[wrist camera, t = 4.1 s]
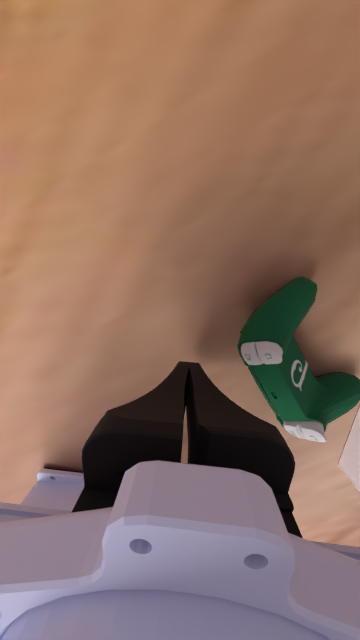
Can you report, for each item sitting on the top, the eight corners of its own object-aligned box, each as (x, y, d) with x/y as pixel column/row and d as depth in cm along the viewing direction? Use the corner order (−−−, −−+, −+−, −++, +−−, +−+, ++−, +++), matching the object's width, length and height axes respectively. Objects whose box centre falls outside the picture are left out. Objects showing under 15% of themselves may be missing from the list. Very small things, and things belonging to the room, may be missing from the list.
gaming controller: (257, 288, 14) (214, 333, 11) (314, 268, 11) (279, 323, 7) (306, 381, 16) (282, 445, 12) (368, 387, 12) (358, 474, 9)
